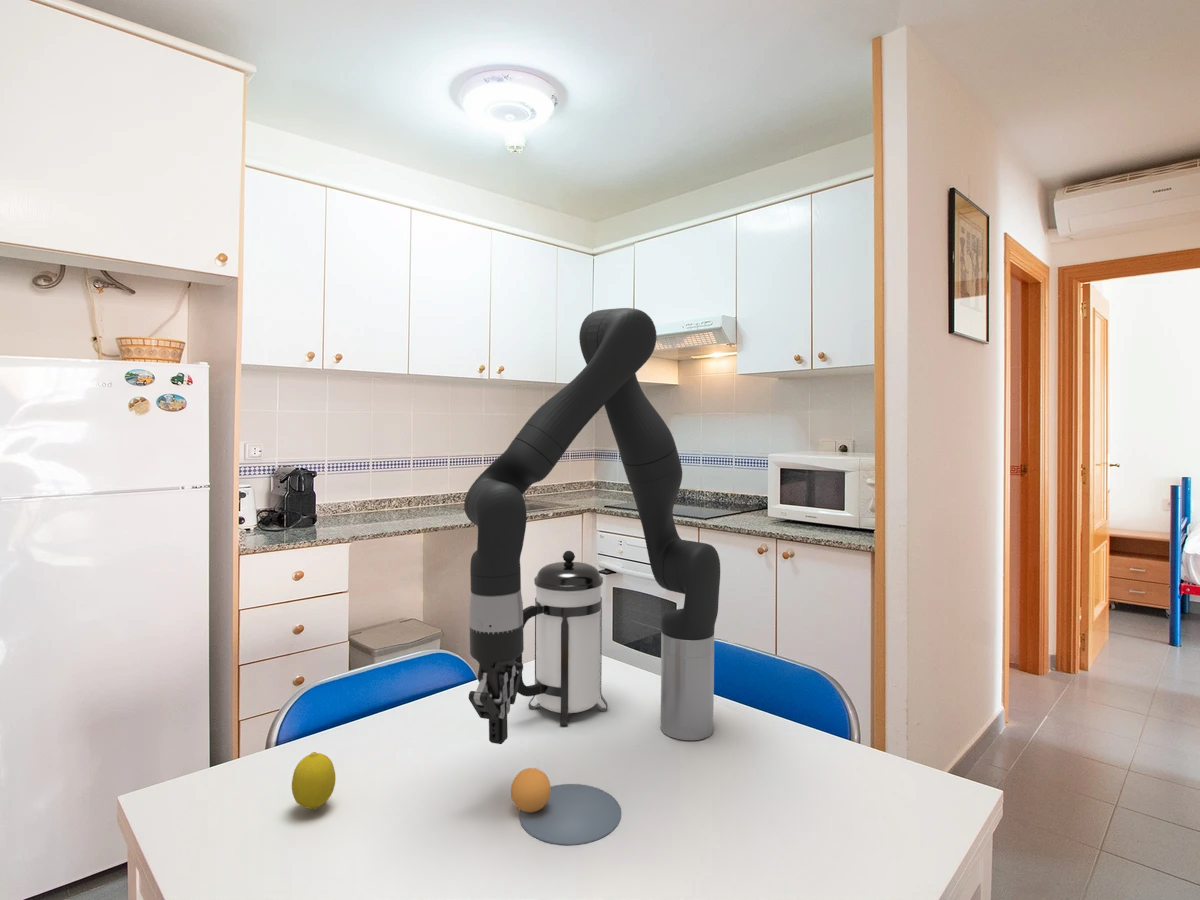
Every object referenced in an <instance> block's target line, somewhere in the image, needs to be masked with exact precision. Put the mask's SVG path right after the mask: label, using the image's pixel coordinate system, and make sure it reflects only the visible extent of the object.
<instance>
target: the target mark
mask: <svg viewBox="0 0 1200 900" xmlns="http://www.w3.org/2000/svg"><path fill="white" fill-rule="evenodd" d="M550 787H551V792H550V797H549V799H548V801H547V803H546V804H545V806H544V807H543V808H542V809H540V810H538V811H536V812H532V813H528V812H524V811H521V810H520V809H519V812H518V820H519V822H520V826H521V827H522V828H523V829H524V831H525V832H526V833H527V834H529V836H532V838H534V839H537V840H539V841H542V842H544V843H548V844H553V845H559V846H560V845H561V846H577V845H585V844H589V843H593V842H596V841H598V840H601V839H602V838H605V837H606V836H608V835H610V834H611V833H612V832H613V831H615V829H616V828H617V827H618V825H619V824H620V821H621V818H622V809H621V806H620V804H619V802H618V801H617V799H616V798H615V797H614V796H613V795H612V794H610V793H609V792H608V791H605V790H603V789H601V788H598V787H595V786H592V785H588V784H579V783H565V784H564V783H563V784H556V785H552V786H551V785H550Z"/></svg>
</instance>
